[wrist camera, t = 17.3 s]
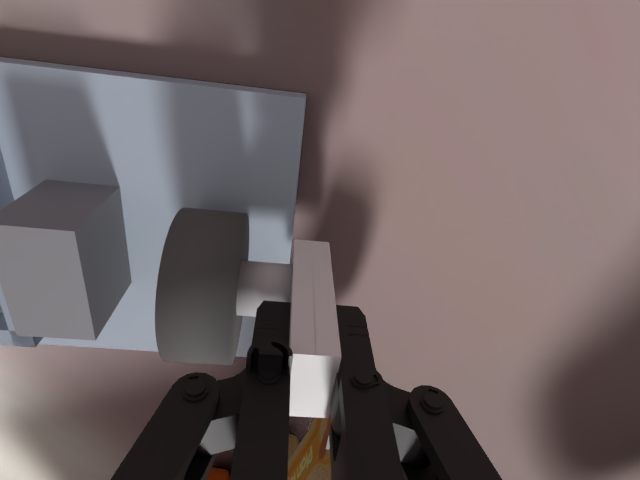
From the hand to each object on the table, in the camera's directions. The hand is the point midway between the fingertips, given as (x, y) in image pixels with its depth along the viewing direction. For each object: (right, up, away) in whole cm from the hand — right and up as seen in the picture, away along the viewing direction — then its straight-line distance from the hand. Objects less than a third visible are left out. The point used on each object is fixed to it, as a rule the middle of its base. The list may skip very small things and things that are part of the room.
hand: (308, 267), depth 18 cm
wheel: (-3, +1, +1) cm, 3 cm away
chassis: (-13, +2, +1) cm, 13 cm away
